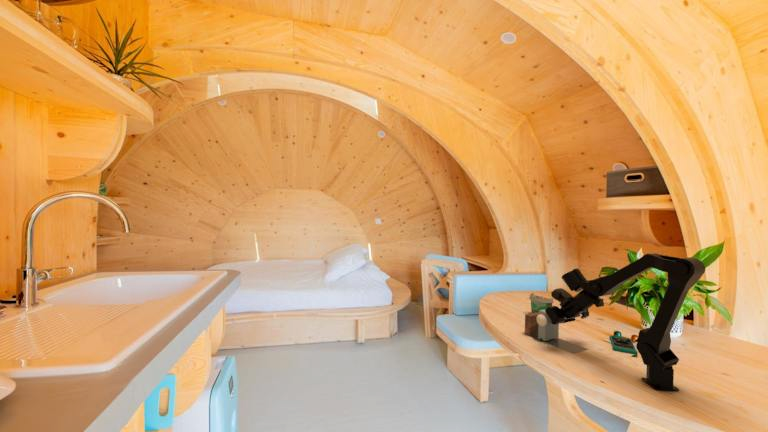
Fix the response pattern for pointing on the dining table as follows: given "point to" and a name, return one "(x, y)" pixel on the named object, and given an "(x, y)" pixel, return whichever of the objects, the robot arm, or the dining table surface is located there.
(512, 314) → the dining table surface
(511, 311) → the dining table surface
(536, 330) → the brown wooden square slab
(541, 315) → the gauge carriage
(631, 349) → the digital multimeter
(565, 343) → the base
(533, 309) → the food container
